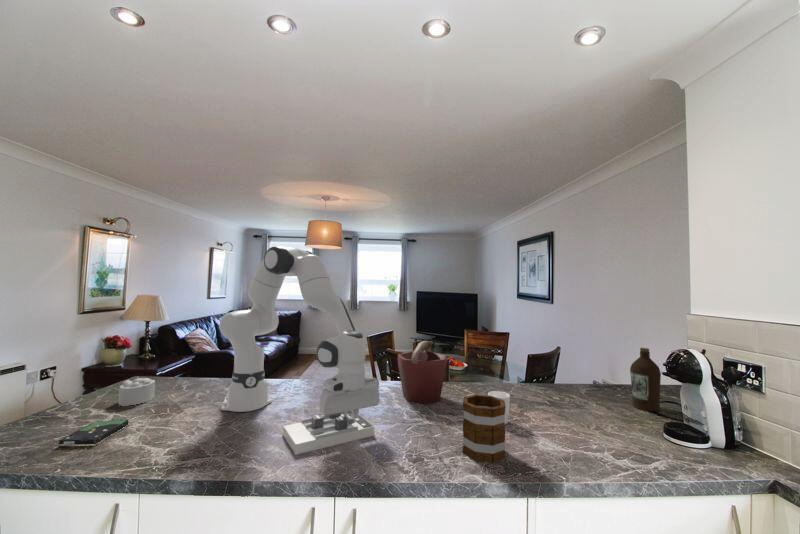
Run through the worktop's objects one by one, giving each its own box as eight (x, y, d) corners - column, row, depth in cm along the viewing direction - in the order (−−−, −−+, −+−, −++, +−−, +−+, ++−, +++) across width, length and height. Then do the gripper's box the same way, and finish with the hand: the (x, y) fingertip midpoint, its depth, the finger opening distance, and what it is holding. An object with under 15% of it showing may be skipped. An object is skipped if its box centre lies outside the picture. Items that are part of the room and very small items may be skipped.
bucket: (417, 387, 168) (418, 336, 169) (458, 396, 155) (459, 341, 157) (387, 400, 148) (388, 342, 150) (431, 411, 135) (432, 348, 137)
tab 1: (329, 417, 120) (329, 406, 120) (337, 415, 121) (337, 405, 121) (332, 420, 117) (332, 409, 117) (340, 418, 119) (341, 408, 119)
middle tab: (311, 426, 111) (311, 416, 111) (320, 425, 113) (320, 414, 113) (314, 430, 108) (314, 419, 109) (323, 428, 110) (323, 417, 110)
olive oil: (640, 402, 152) (639, 345, 153) (667, 410, 142) (665, 349, 143) (625, 405, 148) (624, 346, 149) (651, 413, 138) (649, 351, 139)
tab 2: (334, 428, 110) (335, 417, 110) (343, 426, 112) (343, 415, 112) (338, 432, 108) (338, 420, 108) (347, 430, 109) (347, 419, 109)
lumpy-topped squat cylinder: (157, 396, 148) (158, 376, 148) (138, 406, 135) (140, 384, 136) (131, 396, 147) (133, 376, 147) (110, 407, 134) (111, 385, 134)
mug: (515, 461, 98) (515, 408, 99) (470, 464, 96) (470, 410, 97) (487, 432, 117) (487, 388, 118) (449, 434, 115) (450, 389, 116)
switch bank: (283, 435, 112) (283, 422, 112) (355, 419, 126) (355, 408, 126) (295, 454, 99) (295, 440, 99) (374, 435, 113) (374, 423, 113)
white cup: (511, 419, 129) (511, 392, 129) (508, 427, 122) (508, 398, 122) (489, 416, 132) (490, 389, 133) (486, 423, 125) (486, 395, 126)
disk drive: (95, 448, 102) (128, 427, 117) (96, 438, 102) (129, 418, 117) (57, 449, 101) (95, 428, 116) (58, 440, 101) (96, 419, 116)
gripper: (374, 374, 121) (373, 414, 120) (318, 382, 110) (317, 426, 109) (383, 378, 115) (382, 420, 114) (325, 387, 104) (324, 433, 103)
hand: (350, 423), depth 112 cm, fingers closed
